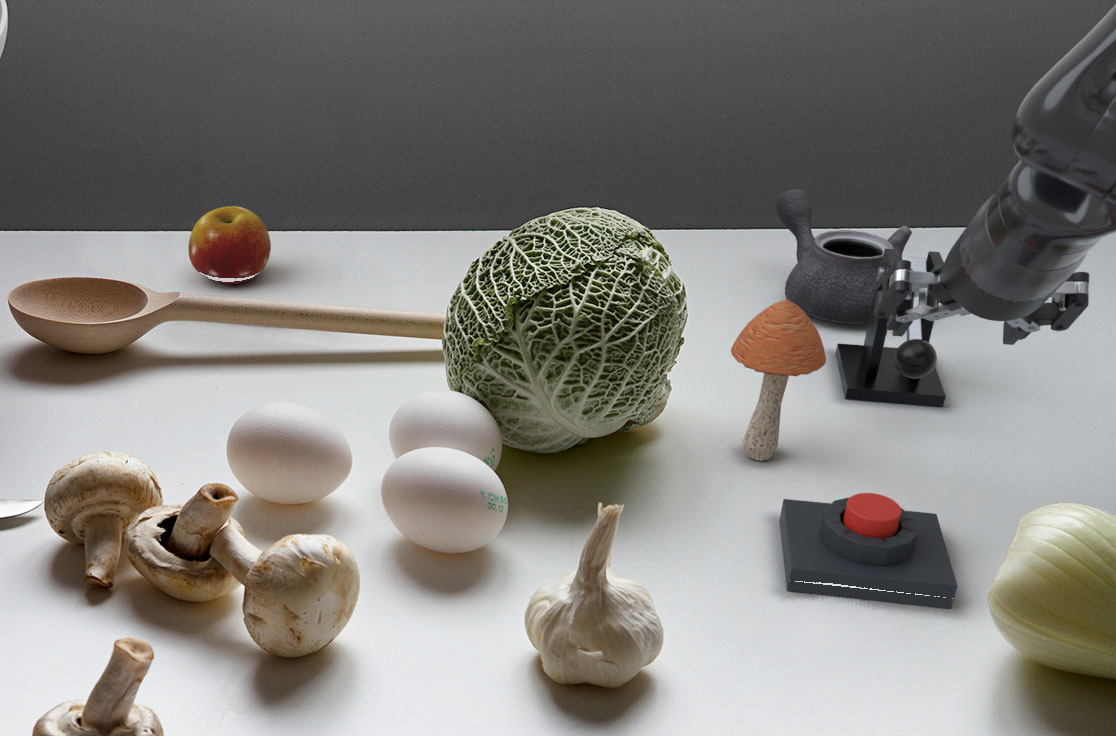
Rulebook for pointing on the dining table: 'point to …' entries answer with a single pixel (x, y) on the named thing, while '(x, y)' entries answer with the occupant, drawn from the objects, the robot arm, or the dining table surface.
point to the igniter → (872, 515)
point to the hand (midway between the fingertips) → (951, 329)
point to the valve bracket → (887, 359)
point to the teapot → (833, 264)
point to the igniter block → (865, 556)
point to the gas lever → (915, 341)
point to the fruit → (229, 244)
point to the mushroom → (776, 366)
